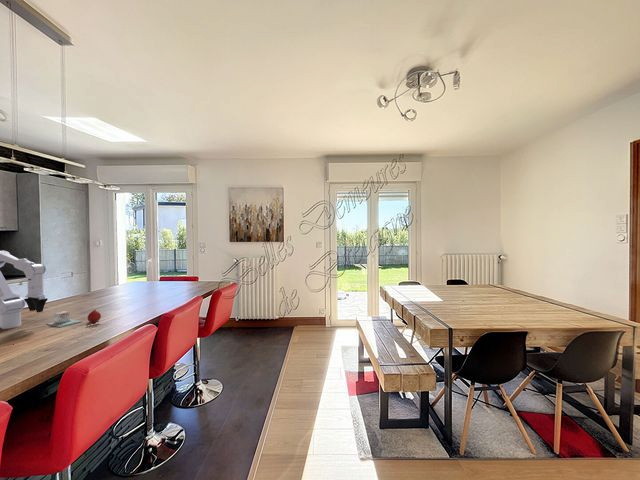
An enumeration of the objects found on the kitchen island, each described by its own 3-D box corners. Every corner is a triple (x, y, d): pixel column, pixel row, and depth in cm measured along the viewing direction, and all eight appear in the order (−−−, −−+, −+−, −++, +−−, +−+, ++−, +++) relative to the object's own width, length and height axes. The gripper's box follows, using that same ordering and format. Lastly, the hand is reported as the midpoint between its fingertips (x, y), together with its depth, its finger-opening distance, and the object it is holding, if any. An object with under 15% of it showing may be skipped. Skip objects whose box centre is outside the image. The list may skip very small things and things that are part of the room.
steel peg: (54, 325, 151) (54, 313, 151) (64, 323, 155) (63, 311, 155) (60, 326, 150) (59, 313, 150) (69, 323, 154) (69, 311, 154)
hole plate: (46, 326, 150) (46, 323, 150) (68, 320, 159) (68, 318, 159) (59, 329, 145) (59, 326, 145) (82, 323, 154) (82, 320, 154)
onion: (93, 325, 151) (92, 311, 151) (85, 324, 152) (84, 310, 152) (103, 322, 156) (103, 308, 156) (95, 321, 158) (95, 308, 158)
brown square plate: (18, 331, 142) (18, 329, 142) (41, 326, 150) (41, 324, 150) (27, 333, 138) (26, 331, 138) (50, 328, 147) (50, 326, 147)
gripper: (18, 286, 145) (19, 311, 146) (31, 288, 140) (32, 314, 140) (36, 284, 152) (37, 308, 152) (49, 286, 146) (50, 311, 146)
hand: (36, 311), depth 146 cm, fingers open, 7 cm apart
